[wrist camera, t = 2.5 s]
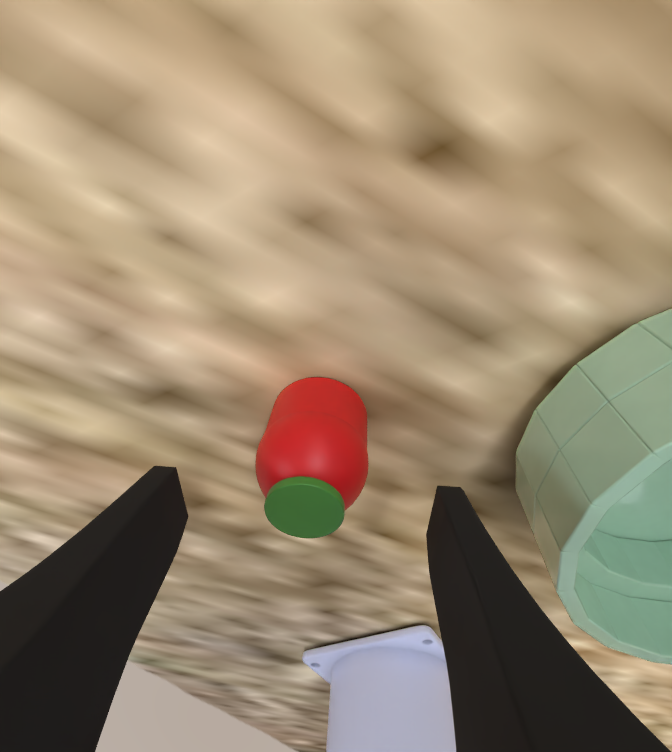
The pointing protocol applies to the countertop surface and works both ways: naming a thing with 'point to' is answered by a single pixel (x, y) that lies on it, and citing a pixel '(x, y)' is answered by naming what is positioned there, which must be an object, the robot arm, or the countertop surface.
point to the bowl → (608, 489)
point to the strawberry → (313, 457)
